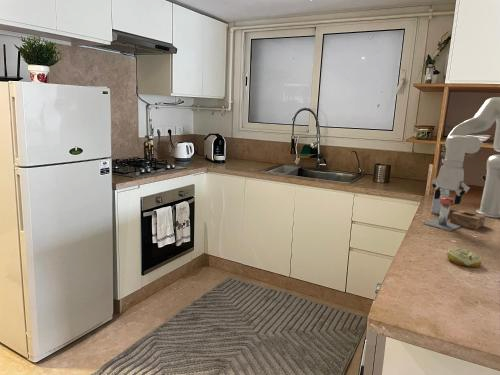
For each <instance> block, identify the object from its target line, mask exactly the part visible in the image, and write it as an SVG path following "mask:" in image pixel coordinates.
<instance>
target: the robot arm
mask: <svg viewBox="0 0 500 375" xmlns="http://www.w3.org/2000/svg"><path fill="white" fill-rule="evenodd" d="M494 123H496V124H495V133H494V138H493V151H496V152H498V153H500V96H497V97H496V96H495V97H493V96H492V97H490V98H488V99H486V100H485V101H484V103H483V104H482V105H481V107H480V108H479V110H477V112H476V113H475V114H474V116H473V117H472V118H469V119H467V120H465V121H463V122H461V123H459V124H458V125H456V126H455V127H454V128H452V130H451V131H450V132H449V134H448V136H447V137H446V139H445V142H444V143H445V144H444V145H445V148H446V149H445V155H444V159H442V160H441V163H442V164H443V165H441V167H440V169H439V171H438V174H437V177H436V178H433V179H431V185H432V188H433V190H434V193H435V194H434V193H433V194H434V195H433V197H434V199H439V198H440V193H441V190H440V189H441V188H443V189H448V190H450V191H454V192H455V193H456V195H455V198H454V199H455V200H454V205H460V203H461V202H462V197H463V196H464V195H465V194H466V193H467V192H469V190H470V189H471V188H470V186H469V185H468V184H466V183H465V182H464V176H465V173H464V172H465V171H464V168H463V167H464V161H465V160H464V159H465V156H466V155H465V154H475V153H478V151H479V150H481V147H482V142H481V139H480V138H478V137H477V136H473V135H470V134H476V133H480V132H484V131H487V130H489V129H490V128H491V127H492V126H493V124H494ZM436 181H437V182H436ZM484 181H485V182H484V187H483V191H482V197H481V200H480V201H481V202H480V206H479V208H478V209H476V211H475V213H477V214H481V215H485V216H486V217H488V218H493V219H495V218H496V219H500V154H493V155H490V156H489V157H488V158H487V161H486V177H485V180H484ZM462 189H463V190H462Z"/></svg>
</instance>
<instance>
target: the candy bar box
mask: <svg viewBox="0 0 500 375" xmlns="http://www.w3.org/2000/svg"><path fill="white" fill-rule="evenodd" d="M436 182H437V181H436ZM440 190H441V193H440V196H441V197H449V198H450V195H451V190H448V189H443V188H441V189H440ZM433 194H435V192H434V193H433Z"/></svg>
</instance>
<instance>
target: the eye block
mask: <svg viewBox="0 0 500 375" xmlns="http://www.w3.org/2000/svg"><path fill="white" fill-rule="evenodd" d="M486 217H487V216H485V215H481V214H478V213H476V212H471V211H467V210H463V209H459V210H456V211H453V212H451V215H450V221H449V223H452V224H456V225H460V226H461V227H462V228H467V229H471V230H478V229H480V228H483V227H484V225H485V222H486Z"/></svg>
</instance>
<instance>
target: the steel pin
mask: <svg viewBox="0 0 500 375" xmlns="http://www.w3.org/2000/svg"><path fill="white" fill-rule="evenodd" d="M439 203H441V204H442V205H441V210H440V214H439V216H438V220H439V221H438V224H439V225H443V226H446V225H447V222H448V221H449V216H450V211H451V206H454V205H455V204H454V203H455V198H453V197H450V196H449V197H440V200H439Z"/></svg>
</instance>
